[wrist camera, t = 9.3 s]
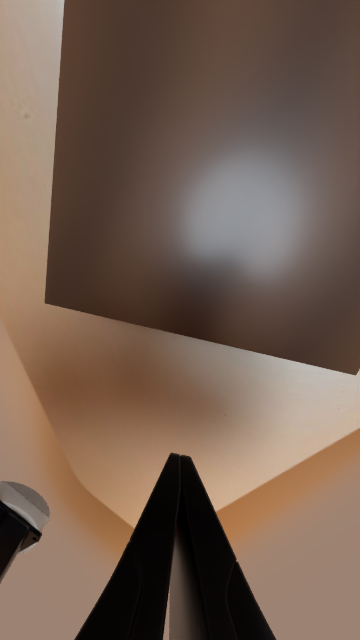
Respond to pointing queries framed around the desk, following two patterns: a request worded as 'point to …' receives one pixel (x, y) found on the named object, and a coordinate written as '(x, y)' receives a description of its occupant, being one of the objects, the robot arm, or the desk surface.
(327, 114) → the desk
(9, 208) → the desk surface
